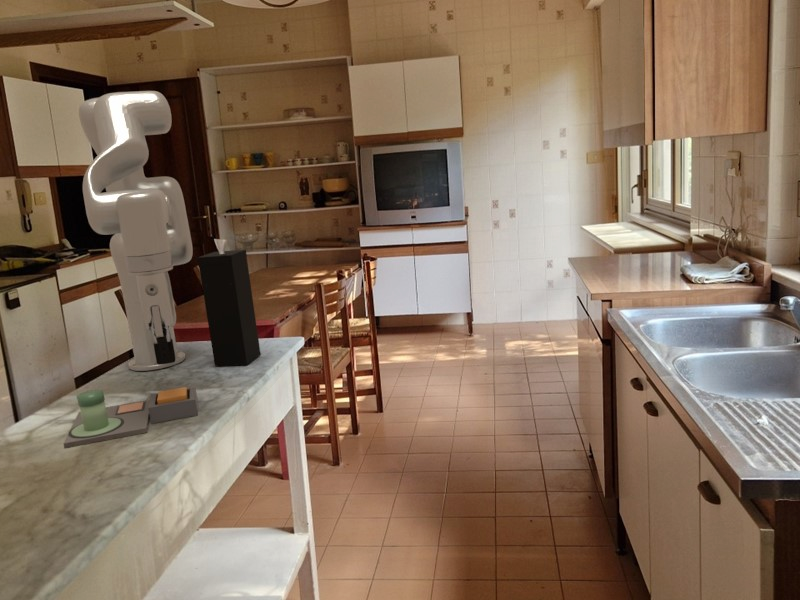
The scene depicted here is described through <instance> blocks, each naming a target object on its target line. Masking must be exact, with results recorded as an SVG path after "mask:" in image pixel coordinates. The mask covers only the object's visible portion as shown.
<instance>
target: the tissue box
mask: <svg viewBox="0 0 800 600" xmlns="http://www.w3.org/2000/svg"><path fill="white" fill-rule="evenodd" d="M213 240H214V243H215V246H216V249H217V251H213V252H210V253H207V254H204V255H201V256H198V257H197V264H198V267H199V274H200V281H201V285H202V292H203V293H202V294H203V299H204V306H205V311H206V312H205V313H206V318H207V324H208V331H209V336H210V337H209V338H210V344H211V349H212V356H213V362H214V366H215V367H225V366H227V367H230V366H231V367H232V366H247V365H248V366H249V365H250V364H251V363H252V362H254V361H255V360H256V359H258V358H259V357H260V356H261V348H260V342H259V333H258V326H257V320H256V319H257V318H256V311H255V306H254V300H253V293H252V292H253V291H252V285H251V278H250V273H249V272H250V270H249V264H248V259H247V258H248V255H247V249H238V250H236V249H235V250H226V246H227V243H228V239H223V238H218V239H217V238H214V239H213Z"/></svg>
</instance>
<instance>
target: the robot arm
mask: <svg viewBox="0 0 800 600" xmlns="http://www.w3.org/2000/svg"><path fill="white" fill-rule="evenodd" d="M78 107H79V108H78V118H79V121H80V126H81V127H82V129H83V133H84V134H85V137H86V138H87V140H88V142H89V144H90V146H91V147H92V149H93V150H94V153H95V154H96V155H97V156H95V158H94V159H93V160H92V161H91V162H90V164H89V166H88V167H87V169H86V171H85V173H84V175H83V179H82V180H83V181H82V194H83V201H84V206H85V214H86V217H87V220H88V221H87V222H88V225H89V226H90V228H91V229H92V230H93V232H95V233H96V234H98V235H102V236H103V235H106V236H107V235H112V236H111V238H110V240H109V241H110V242H109V250H110V255H111V258H112V261H113V264H114V267H115V269H116V272H117V277H118V279H119V284H120V288H121V292H122V297H123V302H124V307H125V312H126V313H125V314H126V318H127V325H128V329H129V336H130V340H131V346H132V352H133V356H134V358H133V359H131V360H129V362H128V369H130V370H131V371H135V372H144V371H146V372H149V371H154V370H155V371H156V370H160V369H165V368H168V367H172V366H175V365H177V364H179V363H182V362H184V360H185V359H186V353H185V352H183V351H181V350H178V349H177V342H176V336H175V335H176V334H175V330H174V327H175V326H176V324H177V312H176V308H175V301H174V296H173V291H172V290H173V289H172V285H171V280H170V275H169V273H168V272H169V271H172V270H173V269H174V266H180V265H184V264H187V263H189V262H190V261H191V260H192V259H193V258H192V257H193V253H194V252H193V249H194V248H193V242H192V236H191V229H190V225H189V220H188V215H187V210H186V204H185V199H184V194H183V191H182V188H181V185H180V183H179V182H178V181H177V179H175V178H174V177H171V176H153V177H146V176H145V173H144V166H145V165H146V164H147V162H148V160H149V155H150V154H149V152H150V151H149V147H148V143H147V140H146V136H153V135H154V136H155V135H162V134H163V135H164V134H167V133H168V132H169V131H170V130H171V127H172V113H171V112H172V111H171V107H170V105H169V102H168V99H166V97H165V96H164V94H162V93H161V92H159V91H156V90H139V91H137V90H136V91H117V92H109V93H106V94H103V95H101V96H99V97H93V98H89V99H86V100H84V101H83V102H82V103H80V105H79V106H78ZM104 189H105V191H106V192H102V191H104Z"/></svg>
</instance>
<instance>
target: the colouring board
mask: <svg viewBox="0 0 800 600" xmlns="http://www.w3.org/2000/svg"><path fill="white" fill-rule="evenodd" d="M149 402H150V399H144V400H140V401H135V402H127V403H122V404H116V405H111V406H107V407H106V412H107V417H108V422H109V425H108V426H107V427H105V428H103V429H100V430H96V431H85V430H84V426H83V421H82V416H81V411H79V412H78V413H77V415H76V417H75V419H74V421H73V423H72V426H71V428H70V429H69V431H68V433H67V435H66V437H65V439H64V442H63V448H64V449H66V448H71V447H77V446H82V445H89V444H93V443H98V442H103V441H109V440H114V439H120V438H125V437H130V436H135V435H139V434H141V435H142V434H147V433H148V430H149V429H148V428H149V423H150V414H149V409H148V407H149Z"/></svg>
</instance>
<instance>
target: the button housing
mask: <svg viewBox="0 0 800 600" xmlns="http://www.w3.org/2000/svg"><path fill="white" fill-rule="evenodd" d="M187 393H188V399H185V400H180V401H174V402H169V403H163V404H158V402H157V398H158V392H157V393H151V394H150V397H149V400H150V402H149V407H148V409H149V414H150V418H149V421H150V423H151V425H152V424H157V423H158V424H159V423H163V422H169V420H170V421H175V420H180V419H186V418H190V416H191V417H196V416H199V399H198V393H197V389H196V386H192V387H187ZM185 417H186V418H185ZM179 418H180V419H179ZM174 419H175V420H174Z"/></svg>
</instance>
